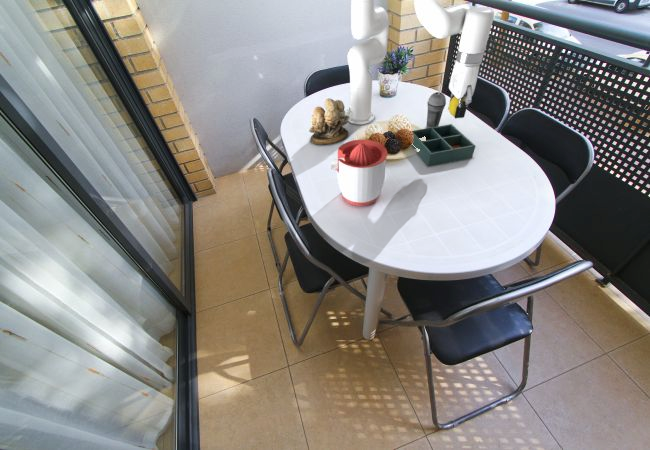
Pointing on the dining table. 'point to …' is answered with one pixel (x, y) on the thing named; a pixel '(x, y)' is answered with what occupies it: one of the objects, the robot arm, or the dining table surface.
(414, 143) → the divided storage tray
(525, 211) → the dining table surface
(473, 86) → the robot arm
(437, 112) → the beverage cup
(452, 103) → the lemon
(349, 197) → the citrus juicer
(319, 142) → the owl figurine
